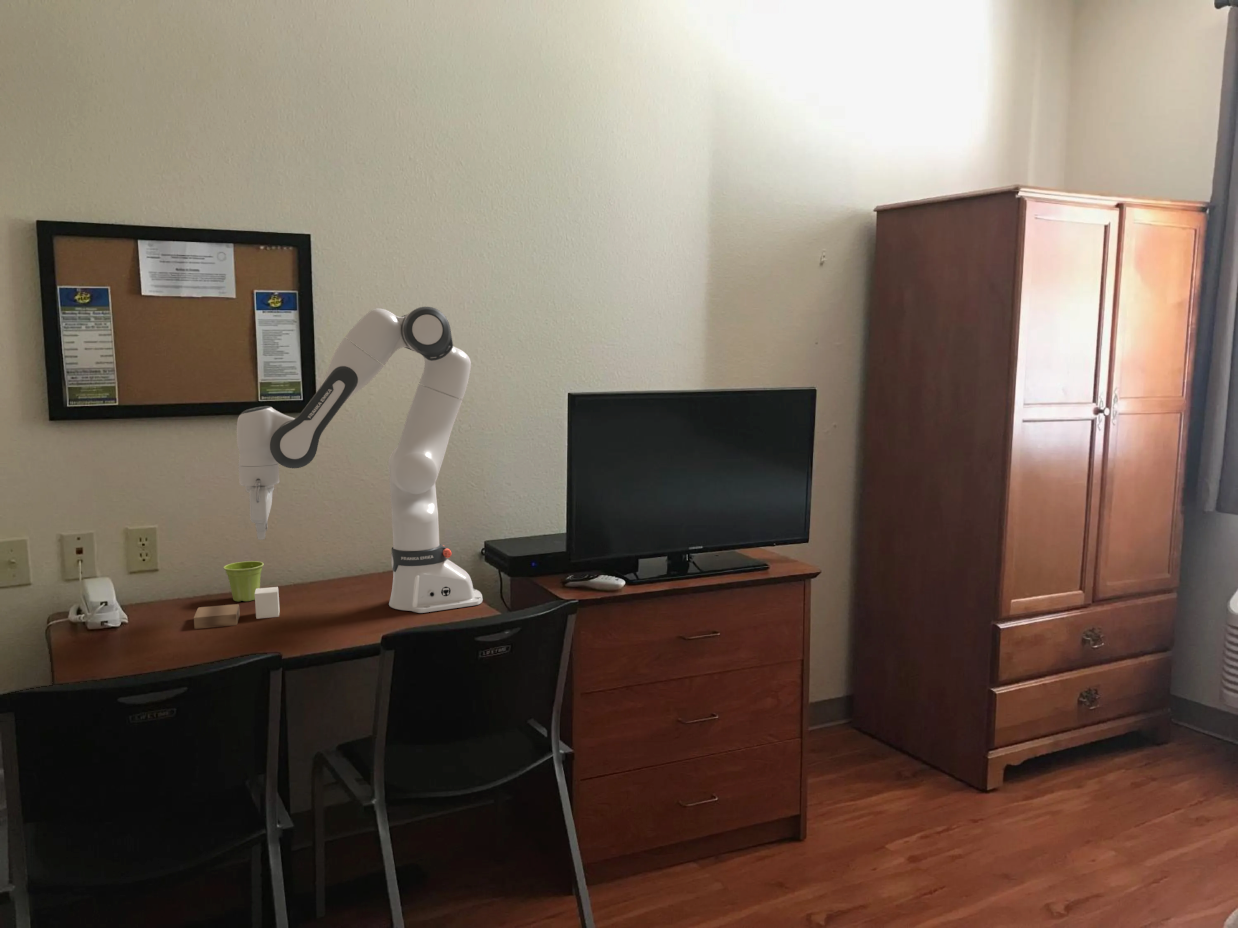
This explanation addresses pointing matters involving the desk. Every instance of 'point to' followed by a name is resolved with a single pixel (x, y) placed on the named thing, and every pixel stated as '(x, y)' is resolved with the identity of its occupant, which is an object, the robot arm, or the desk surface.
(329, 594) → the desk surface
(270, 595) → the white block
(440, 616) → the desk surface
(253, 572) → the plant pot
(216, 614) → the walnut slab
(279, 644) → the desk surface
